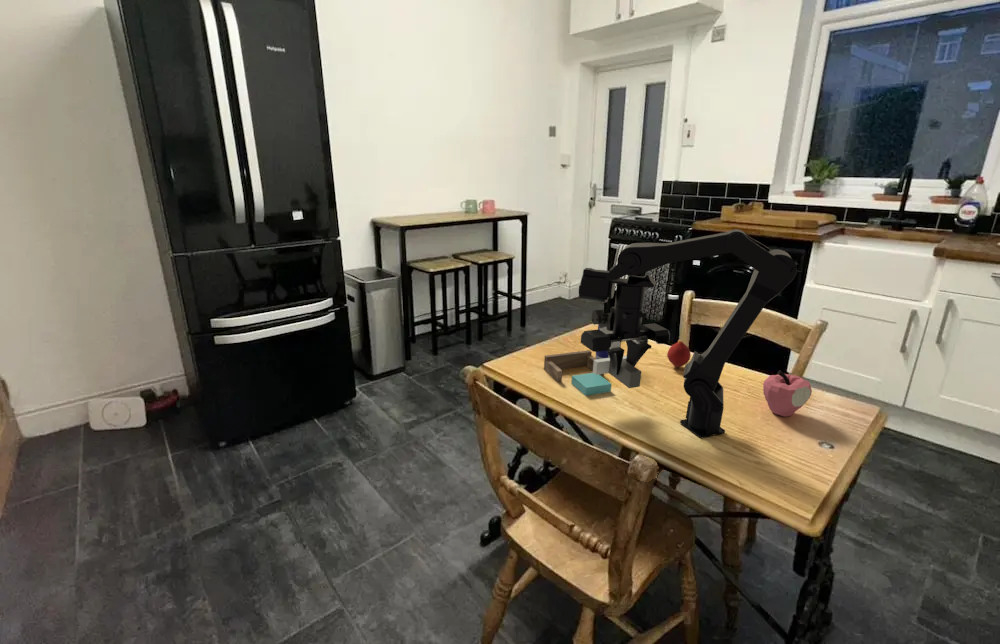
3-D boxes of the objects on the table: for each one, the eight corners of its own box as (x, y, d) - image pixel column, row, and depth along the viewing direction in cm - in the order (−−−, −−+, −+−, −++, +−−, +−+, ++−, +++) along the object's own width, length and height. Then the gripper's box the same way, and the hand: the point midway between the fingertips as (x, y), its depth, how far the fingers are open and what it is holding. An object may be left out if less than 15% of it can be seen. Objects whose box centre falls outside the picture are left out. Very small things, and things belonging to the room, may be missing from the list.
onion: (685, 363, 133) (689, 336, 131) (690, 372, 128) (695, 344, 125) (663, 362, 134) (667, 335, 131) (668, 371, 128) (672, 343, 126)
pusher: (652, 384, 102) (654, 369, 100) (615, 390, 99) (617, 374, 98) (627, 367, 110) (628, 353, 109) (592, 372, 107) (593, 357, 106)
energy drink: (591, 356, 137) (595, 316, 133) (608, 354, 139) (612, 314, 135) (601, 363, 132) (604, 322, 128) (618, 361, 134) (622, 320, 130)
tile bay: (603, 375, 124) (605, 361, 123) (557, 382, 120) (558, 367, 119) (588, 363, 132) (589, 350, 130) (543, 369, 128) (544, 355, 126)
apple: (776, 424, 103) (786, 382, 99) (749, 405, 111) (757, 365, 107) (814, 420, 104) (825, 379, 101) (785, 402, 112) (794, 363, 109)
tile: (610, 393, 116) (611, 383, 115) (585, 397, 114) (586, 387, 113) (595, 381, 122) (596, 372, 121) (571, 384, 120) (571, 375, 119)
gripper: (643, 292, 109) (636, 355, 114) (570, 298, 104) (566, 364, 108) (675, 305, 99) (666, 374, 104) (597, 313, 94) (591, 385, 99)
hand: (621, 373), depth 104 cm, fingers closed on pusher, 3 cm apart
